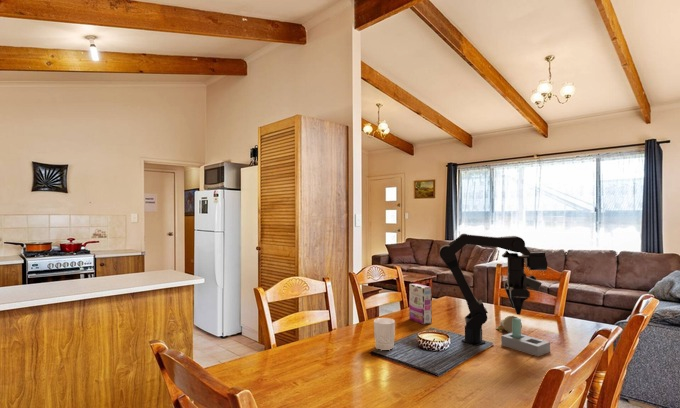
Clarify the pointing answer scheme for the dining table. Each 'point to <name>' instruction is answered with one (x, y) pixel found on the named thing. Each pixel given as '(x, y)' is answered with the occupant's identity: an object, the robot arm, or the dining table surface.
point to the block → (526, 344)
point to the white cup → (384, 333)
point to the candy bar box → (420, 303)
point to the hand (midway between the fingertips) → (516, 311)
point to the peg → (516, 328)
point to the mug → (507, 324)
